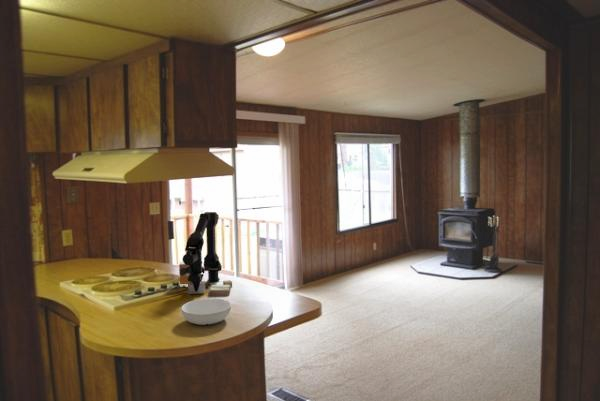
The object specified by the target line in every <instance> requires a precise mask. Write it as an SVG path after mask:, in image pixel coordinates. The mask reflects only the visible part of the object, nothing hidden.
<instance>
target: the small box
mask: <svg viewBox="0 0 600 401" xmlns="http://www.w3.org/2000/svg"><path fill="white" fill-rule="evenodd" d="M178 266H179V270H180V269H181V268H183V267H186V266H189V265H186V264H184V262H183V261H181V262H179V264H178ZM179 270H178V271H179ZM178 273H179V272H178ZM189 275H190V274H189V273H187V274H185V275H183V276H181V274H180V273H179V285H180V284H189V282H191V281H188V276H189Z"/></svg>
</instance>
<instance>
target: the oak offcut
mask: <svg viewBox="0 0 600 401" xmlns="http://www.w3.org/2000/svg"><path fill="white" fill-rule="evenodd" d="M222 285H229V286H230V288H233V280H230V279H229V280H223V281H222Z"/></svg>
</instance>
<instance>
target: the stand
mask: <svg viewBox="0 0 600 401" xmlns="http://www.w3.org/2000/svg"><path fill="white" fill-rule="evenodd" d="M231 289H232V287H230V286H229V285H223V284H214V285H213V284H212V285H211V287H210V289H209V290H208V291H209V292H208V294H209V295H208V296H209V297H216V296H217V297H220V296H222V297H223V296H224V297H225V296H230V295H231V294H230V293H231V291H232V290H231Z"/></svg>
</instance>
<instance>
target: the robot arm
mask: <svg viewBox="0 0 600 401" xmlns="http://www.w3.org/2000/svg"><path fill="white" fill-rule="evenodd" d="M219 219H220V218H219V214H218V213H217V212H215V211H205V212H201V213H200V214H199V219H198V221H197V225H196V227H195V229H194V231H193V232H192V233H191V234H190V235H189V236H188V238H187V240H186V244H185V248H184V249H185V250H184V251H185V254H184V255H183V256H182V262H184V264H186V265H189V266H186V267H183V268H181V269H180V270H178V271H179V272H178V273H180V274H181V276H183V275H185V274H187V273H189V274H190V275H189V276H188V281H191V282H192V283H193V286H194V290H195V292H197V291H198V288H199V285H200V282H203V281H202V280H203V278H204V275H205V272H206V271H207V276H208V278H207V281H206V282H207V283H219V282H220V280H221V279H220V277H219V272H221V271H222V269H223V268H222V267H223V266H222V264H221V262H220V259H219V255H218V253H217V251H216V250H217V249H216V248H217V247H216V226H217V225H218V222H219ZM205 232H206V255H205V256H204V257H203V261H202V251H203V247H204V243H205V240H204V238H203V236H204V233H205ZM202 264H203V265H202ZM202 266H203V267H202ZM180 274H179V275H180Z"/></svg>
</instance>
